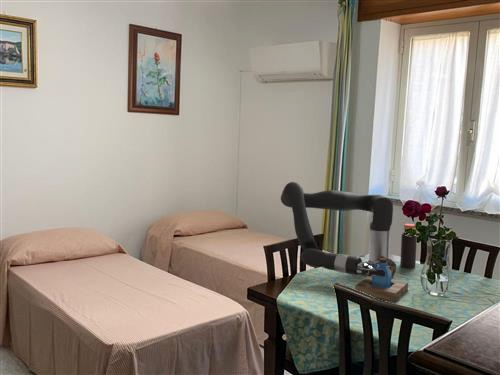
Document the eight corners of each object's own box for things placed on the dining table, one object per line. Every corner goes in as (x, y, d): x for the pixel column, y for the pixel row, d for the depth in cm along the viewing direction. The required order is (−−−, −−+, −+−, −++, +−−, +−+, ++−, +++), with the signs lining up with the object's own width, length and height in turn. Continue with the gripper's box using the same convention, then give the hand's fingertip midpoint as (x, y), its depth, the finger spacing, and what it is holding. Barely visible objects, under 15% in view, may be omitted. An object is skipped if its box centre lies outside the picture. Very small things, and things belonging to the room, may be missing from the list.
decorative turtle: (388, 270, 226) (389, 253, 225) (402, 281, 211) (403, 262, 210) (368, 271, 225) (368, 254, 224) (380, 281, 210) (381, 263, 209)
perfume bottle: (371, 289, 195) (372, 259, 193) (375, 284, 200) (377, 255, 199) (387, 292, 192) (389, 261, 190) (391, 287, 197) (392, 258, 196)
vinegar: (397, 266, 233) (399, 224, 231) (405, 263, 238) (407, 222, 235) (410, 269, 228) (412, 226, 226) (418, 266, 233) (420, 224, 230)
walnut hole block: (369, 283, 207) (369, 275, 207) (407, 290, 199) (408, 282, 198) (354, 294, 194) (355, 285, 194) (395, 302, 185) (395, 293, 185)
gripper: (341, 259, 197) (382, 266, 187) (355, 251, 208) (394, 258, 199) (340, 277, 198) (381, 285, 188) (354, 269, 209) (393, 276, 200)
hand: (388, 271), depth 194 cm, fingers closed on perfume bottle, 6 cm apart
